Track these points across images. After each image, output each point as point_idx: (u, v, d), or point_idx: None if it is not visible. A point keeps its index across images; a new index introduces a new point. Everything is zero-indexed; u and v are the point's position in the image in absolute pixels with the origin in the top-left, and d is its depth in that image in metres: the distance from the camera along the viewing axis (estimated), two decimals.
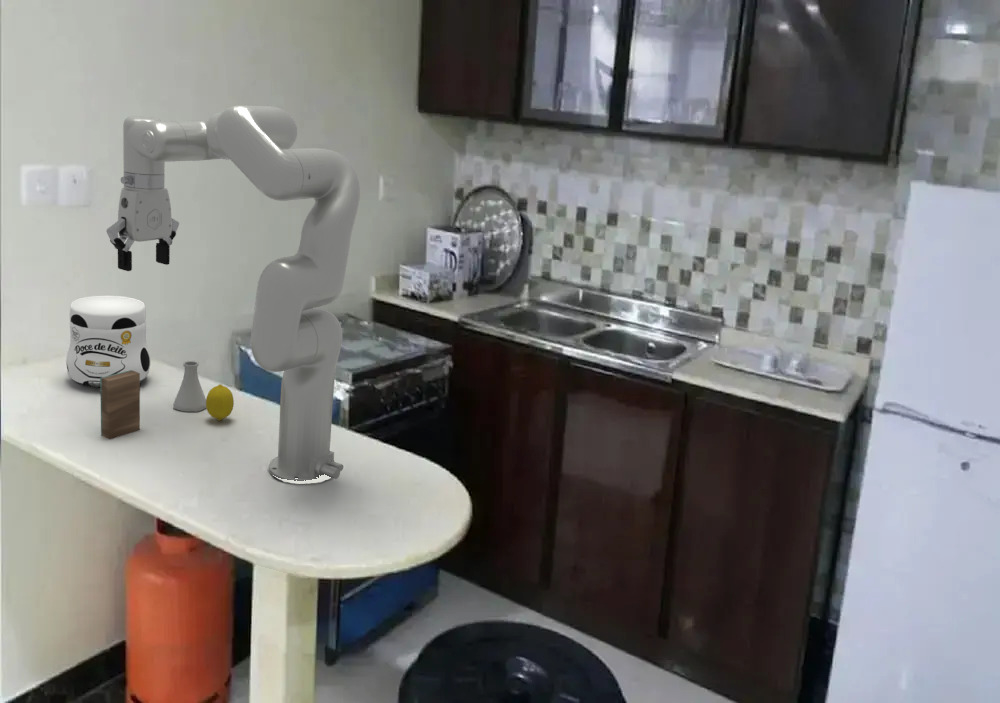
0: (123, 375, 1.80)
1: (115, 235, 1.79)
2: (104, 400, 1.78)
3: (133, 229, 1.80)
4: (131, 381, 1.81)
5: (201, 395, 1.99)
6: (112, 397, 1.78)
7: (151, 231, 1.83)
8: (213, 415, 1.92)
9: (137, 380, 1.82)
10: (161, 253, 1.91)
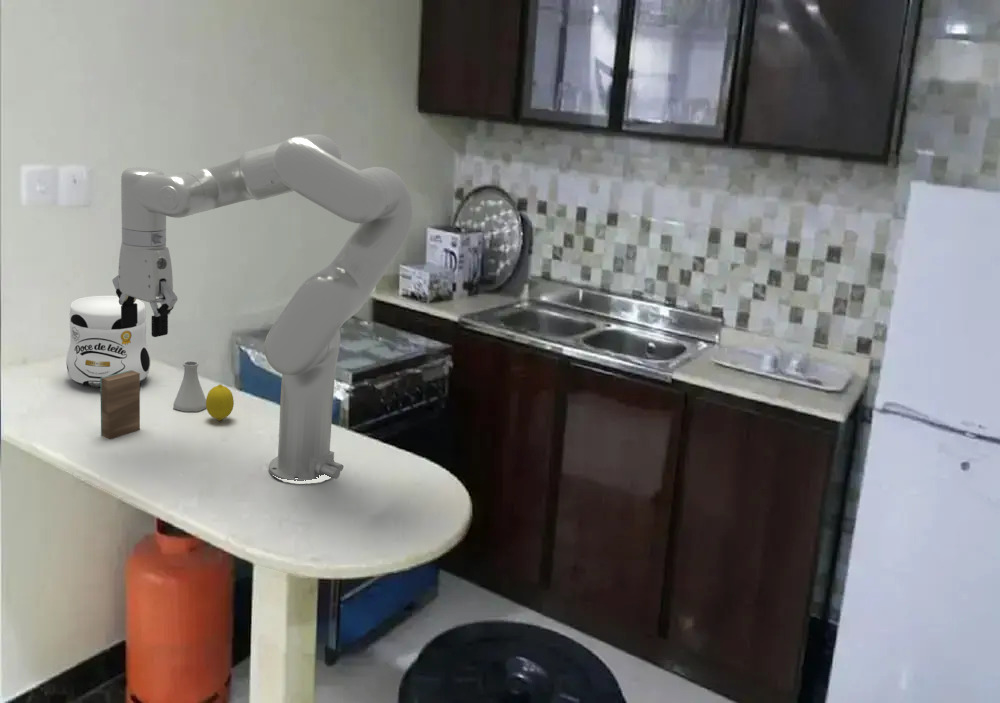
0: (123, 375, 1.80)
1: None
2: (104, 400, 1.78)
3: (172, 287, 1.71)
4: (131, 381, 1.81)
5: (201, 395, 1.99)
6: (112, 397, 1.78)
7: None
8: (213, 415, 1.92)
9: (137, 380, 1.82)
10: (131, 314, 1.75)
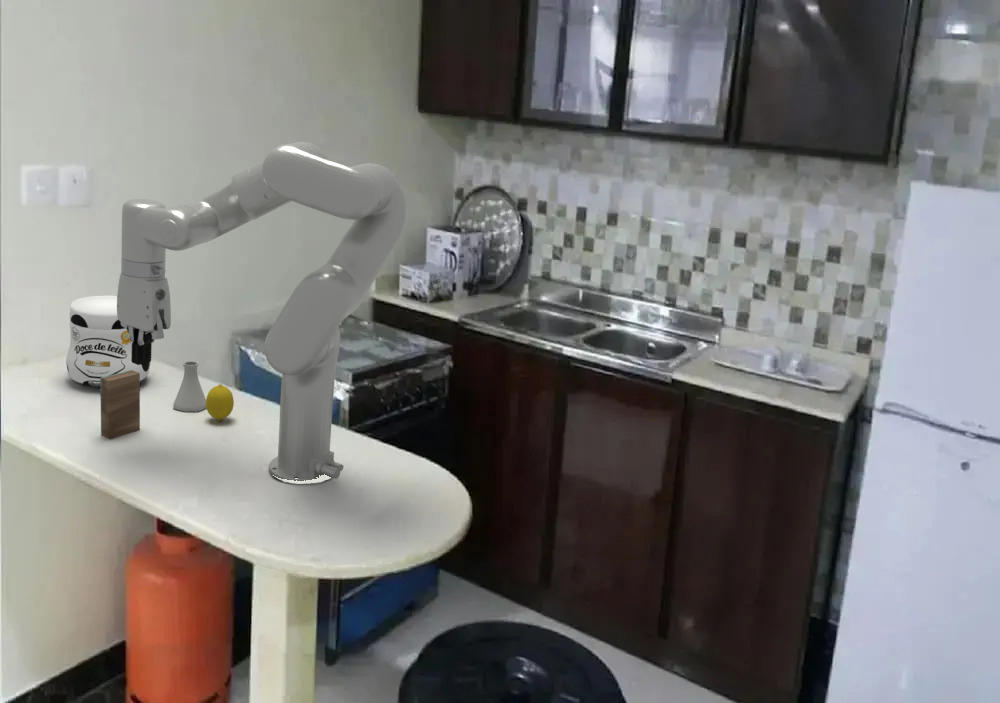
0: (123, 375, 1.80)
1: None
2: (104, 400, 1.78)
3: (170, 317, 1.72)
4: (131, 381, 1.81)
5: (201, 395, 1.99)
6: (112, 397, 1.78)
7: None
8: (213, 415, 1.92)
9: (137, 380, 1.82)
10: None
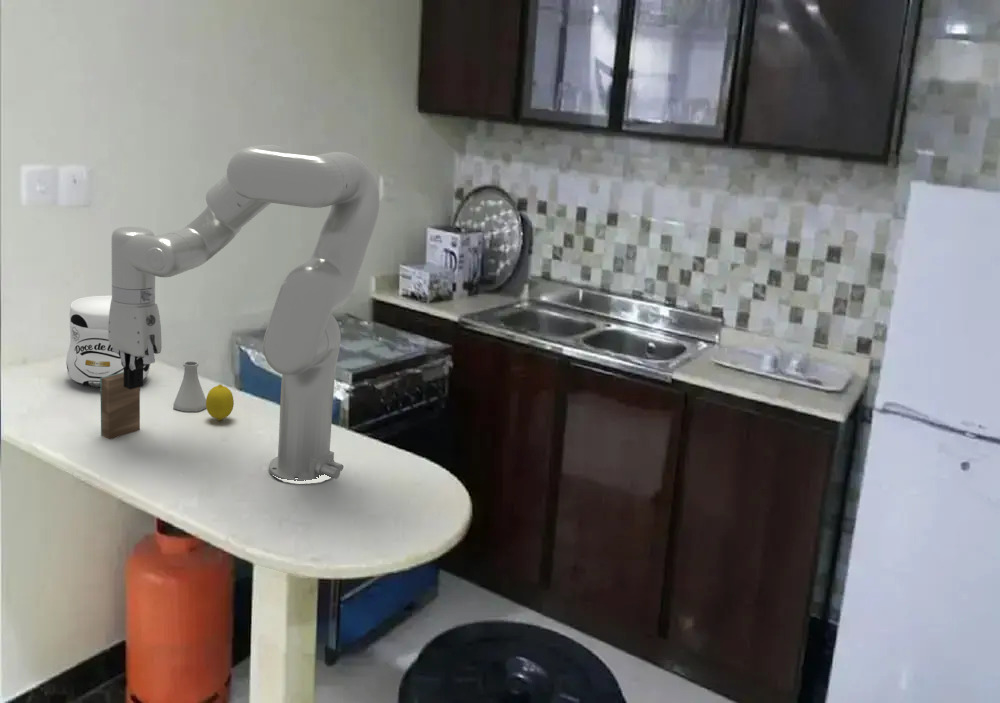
0: (123, 375, 1.80)
1: None
2: (104, 400, 1.78)
3: (161, 342, 1.75)
4: None
5: (201, 395, 1.99)
6: (112, 397, 1.78)
7: None
8: (213, 415, 1.92)
9: None
10: None
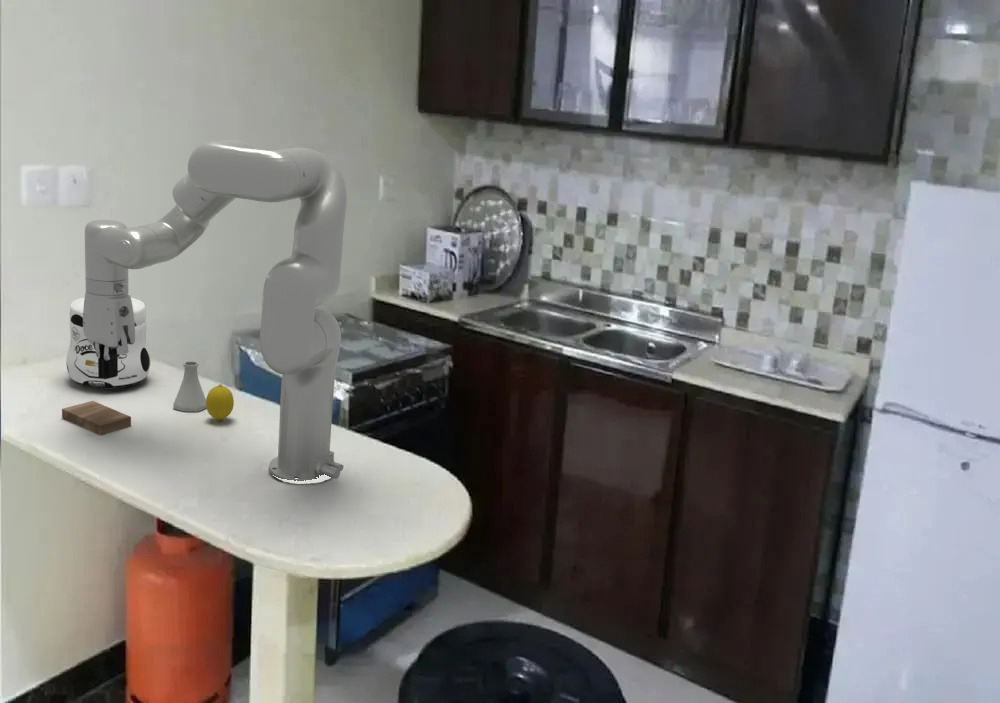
0: None
1: None
2: (75, 421, 1.85)
3: (134, 333, 1.79)
4: (88, 404, 1.90)
5: (201, 395, 1.99)
6: (77, 412, 1.85)
7: None
8: (213, 415, 1.92)
9: (94, 403, 1.91)
10: None
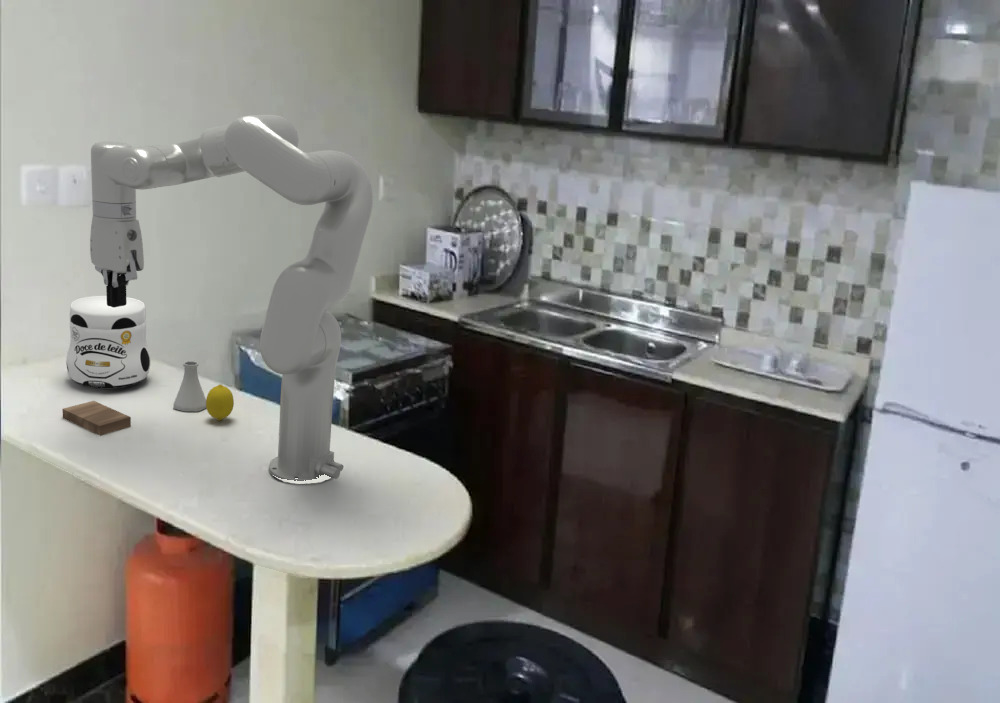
0: None
1: None
2: (75, 421, 1.85)
3: (143, 259, 1.75)
4: (89, 404, 1.90)
5: (201, 395, 1.99)
6: (77, 412, 1.85)
7: None
8: (213, 415, 1.92)
9: (95, 403, 1.91)
10: None
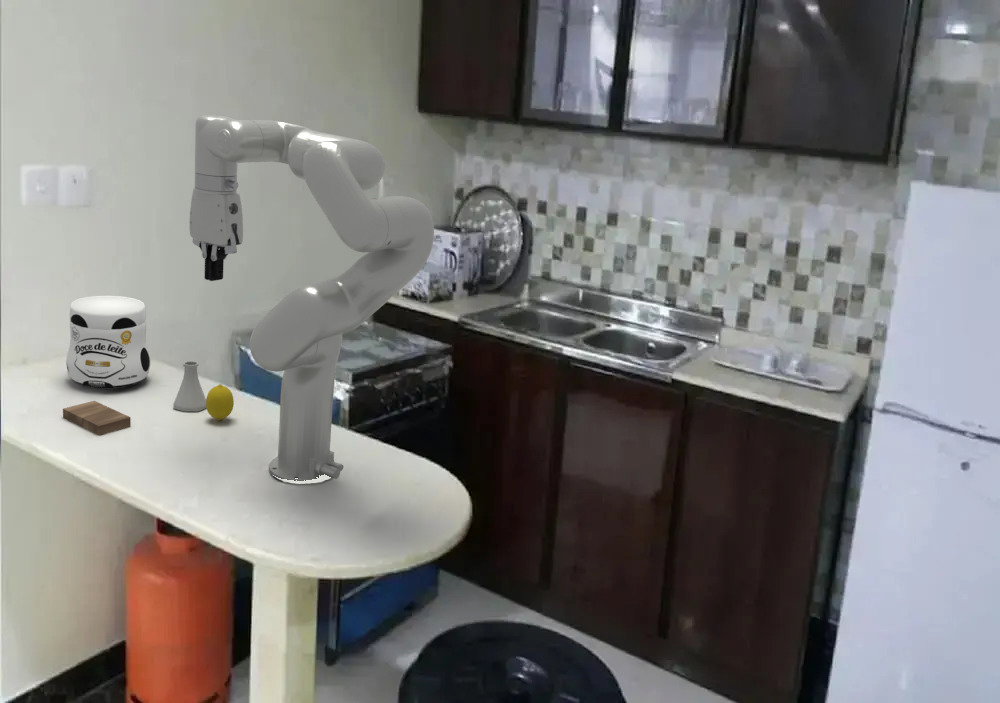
0: None
1: None
2: (75, 420, 1.85)
3: (242, 232, 1.75)
4: (89, 404, 1.90)
5: (201, 395, 1.99)
6: (77, 412, 1.85)
7: None
8: (213, 415, 1.92)
9: (96, 403, 1.91)
10: None
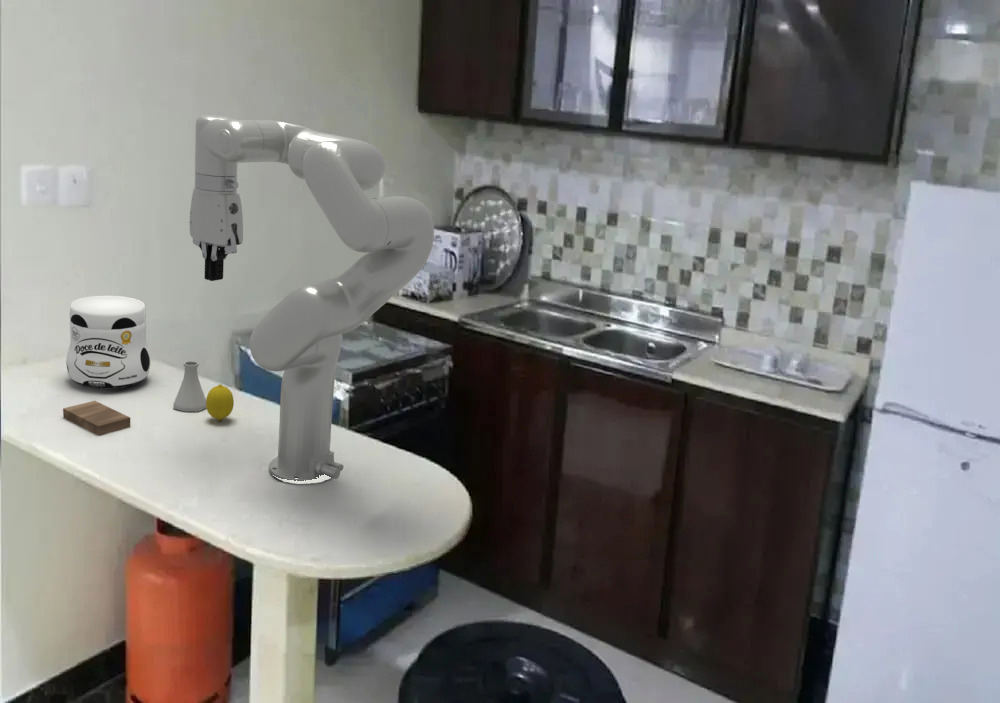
0: None
1: None
2: (75, 420, 1.85)
3: (242, 232, 1.75)
4: (90, 404, 1.90)
5: (201, 395, 1.99)
6: (77, 412, 1.85)
7: None
8: (213, 415, 1.92)
9: (96, 403, 1.91)
10: None
